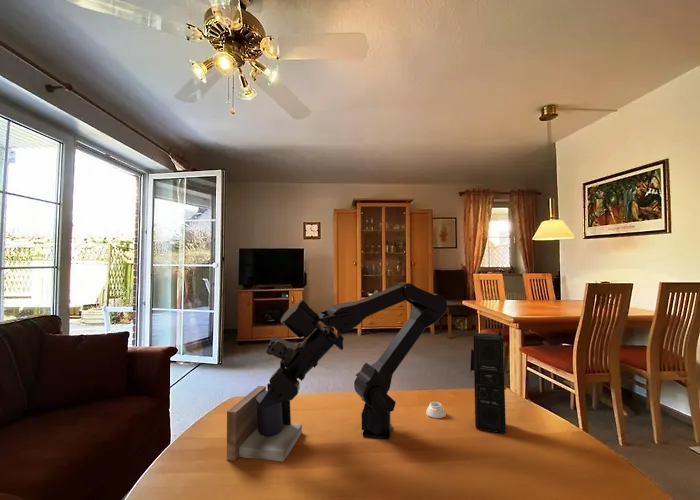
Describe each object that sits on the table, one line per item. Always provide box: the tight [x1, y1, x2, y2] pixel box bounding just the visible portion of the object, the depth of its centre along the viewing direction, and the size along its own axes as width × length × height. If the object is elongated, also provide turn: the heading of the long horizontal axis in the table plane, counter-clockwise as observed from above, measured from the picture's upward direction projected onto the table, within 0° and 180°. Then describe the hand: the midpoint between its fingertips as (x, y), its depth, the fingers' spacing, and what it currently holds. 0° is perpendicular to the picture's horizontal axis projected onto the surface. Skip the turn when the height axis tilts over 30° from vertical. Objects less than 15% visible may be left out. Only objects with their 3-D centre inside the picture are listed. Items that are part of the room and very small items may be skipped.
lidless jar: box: [425, 401, 447, 419], centre depth 91 cm, size 5×3×5 cm
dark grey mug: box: [256, 382, 292, 437], centre depth 79 cm, size 8×6×10 cm
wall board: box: [226, 385, 303, 462], centre depth 77 cm, size 12×15×10 cm
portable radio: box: [469, 325, 507, 434], centre depth 85 cm, size 8×6×25 cm
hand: (264, 399), depth 77 cm, fingers open, 9 cm apart
